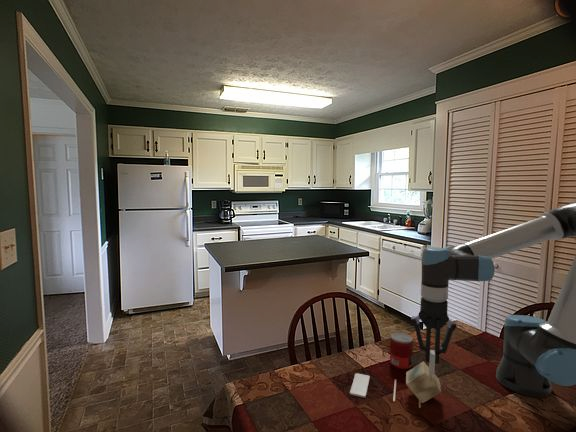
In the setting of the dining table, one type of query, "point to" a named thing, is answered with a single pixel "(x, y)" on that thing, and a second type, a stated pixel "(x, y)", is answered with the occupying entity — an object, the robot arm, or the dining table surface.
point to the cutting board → (365, 386)
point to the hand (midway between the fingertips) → (431, 372)
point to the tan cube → (422, 382)
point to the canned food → (401, 350)
